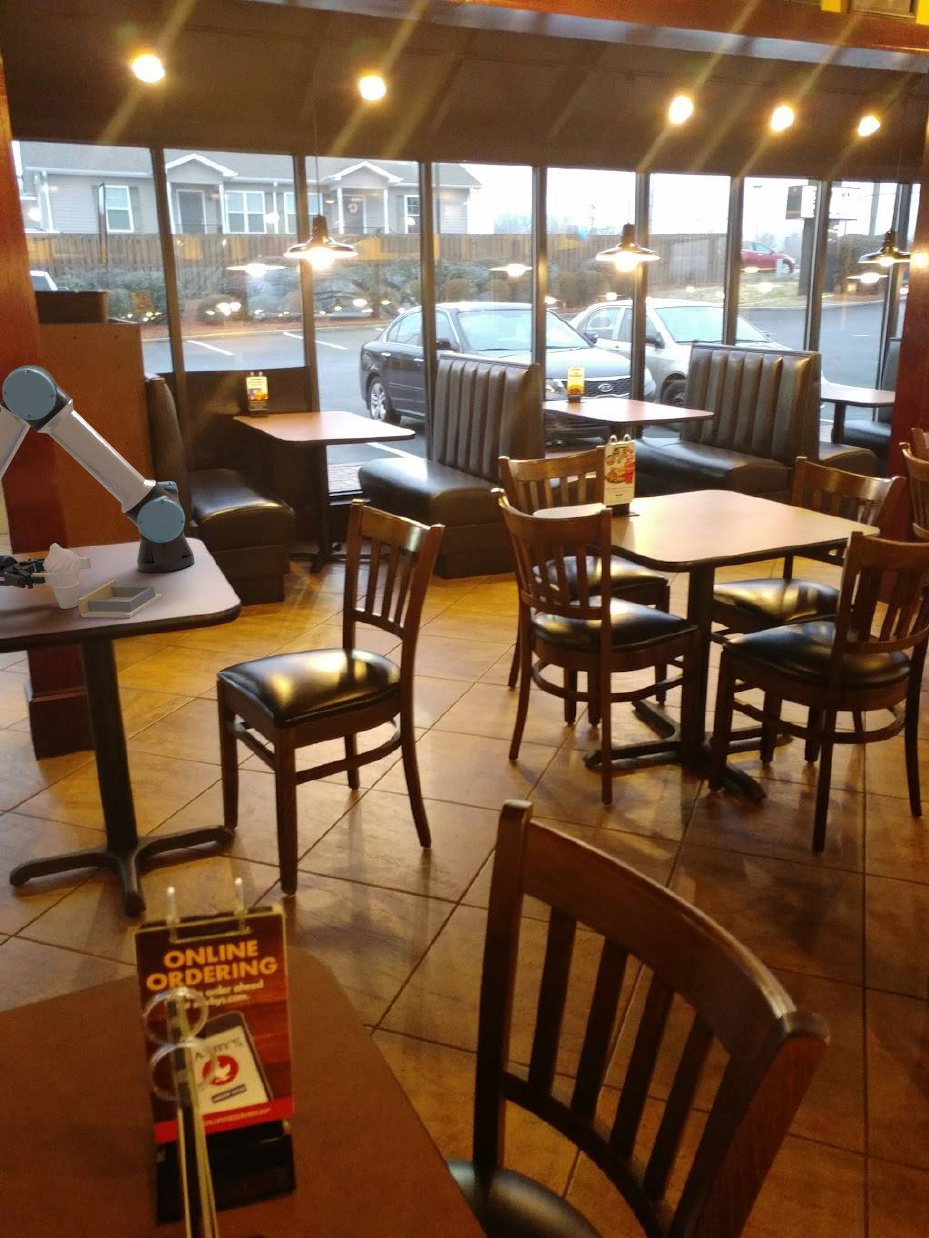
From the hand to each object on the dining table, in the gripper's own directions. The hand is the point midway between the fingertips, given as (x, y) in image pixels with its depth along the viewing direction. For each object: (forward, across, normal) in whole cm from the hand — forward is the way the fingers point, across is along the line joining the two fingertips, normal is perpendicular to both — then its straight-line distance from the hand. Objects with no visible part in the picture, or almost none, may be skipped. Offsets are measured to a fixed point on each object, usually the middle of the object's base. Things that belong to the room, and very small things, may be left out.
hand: (74, 571), depth 246 cm
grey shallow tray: (+11, 0, -9) cm, 14 cm away
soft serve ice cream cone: (-3, 0, -9) cm, 10 cm away
